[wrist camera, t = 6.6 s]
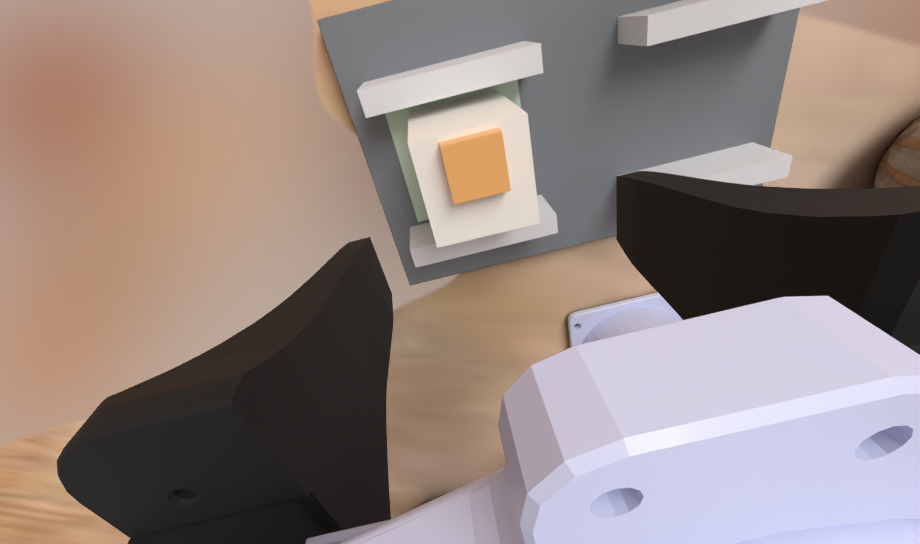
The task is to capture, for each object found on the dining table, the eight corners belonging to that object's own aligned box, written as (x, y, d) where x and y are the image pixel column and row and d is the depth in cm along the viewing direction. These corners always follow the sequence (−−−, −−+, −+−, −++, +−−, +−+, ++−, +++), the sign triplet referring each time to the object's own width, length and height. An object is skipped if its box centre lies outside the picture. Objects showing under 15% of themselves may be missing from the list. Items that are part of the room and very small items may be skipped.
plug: (509, 176, 20) (544, 229, 14) (430, 195, 20) (437, 255, 14) (496, 90, 17) (532, 117, 12) (408, 112, 17) (407, 148, 12)
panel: (746, 193, 23) (795, 218, 20) (410, 275, 23) (410, 312, 20) (803, -107, 16) (893, -137, 13) (321, 20, 16) (302, 19, 13)
